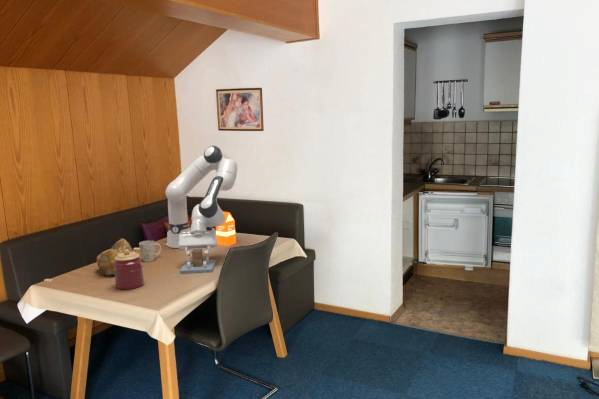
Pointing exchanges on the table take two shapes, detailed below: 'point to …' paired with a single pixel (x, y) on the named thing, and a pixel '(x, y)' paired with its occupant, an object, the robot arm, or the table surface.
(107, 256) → the rough brown rock
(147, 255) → the mug
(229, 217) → the orange juice
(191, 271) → the peg seat
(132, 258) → the canister
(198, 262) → the walnut block
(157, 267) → the table surface
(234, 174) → the robot arm
